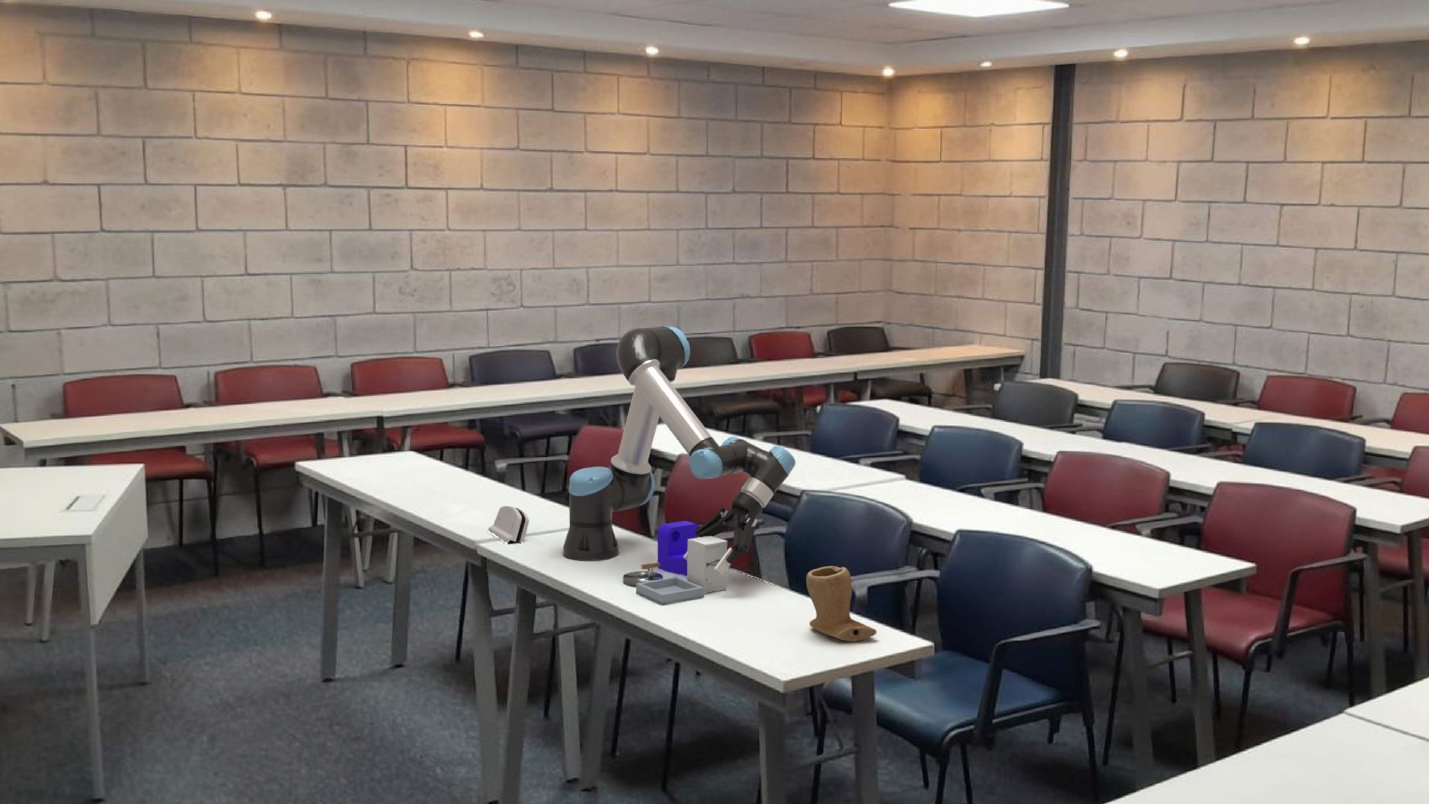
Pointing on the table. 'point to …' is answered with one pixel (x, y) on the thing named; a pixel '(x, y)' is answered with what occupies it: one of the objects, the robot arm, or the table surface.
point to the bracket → (675, 545)
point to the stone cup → (834, 604)
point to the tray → (669, 590)
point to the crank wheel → (642, 575)
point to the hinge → (510, 524)
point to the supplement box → (706, 563)
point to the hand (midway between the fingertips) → (702, 566)
